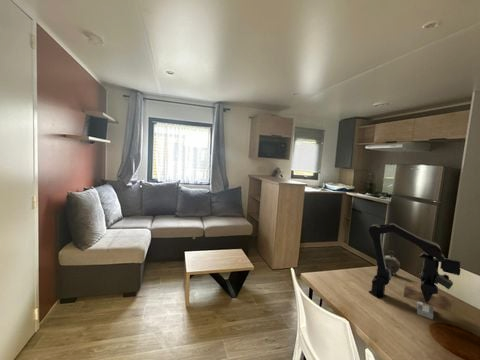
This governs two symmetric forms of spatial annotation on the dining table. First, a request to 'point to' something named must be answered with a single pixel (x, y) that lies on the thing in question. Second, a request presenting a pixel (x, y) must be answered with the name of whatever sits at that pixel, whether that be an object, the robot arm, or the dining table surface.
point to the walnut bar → (434, 300)
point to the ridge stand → (425, 310)
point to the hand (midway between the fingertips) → (426, 297)
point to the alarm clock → (392, 263)
